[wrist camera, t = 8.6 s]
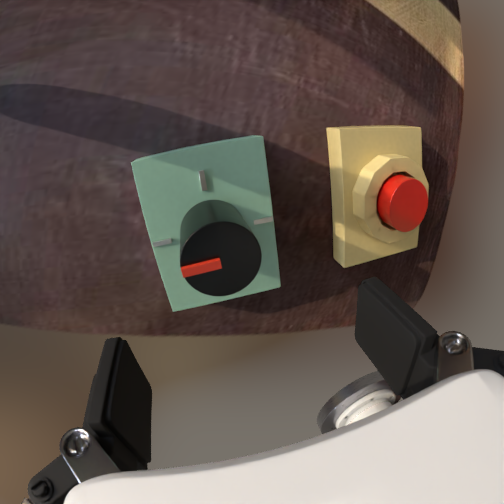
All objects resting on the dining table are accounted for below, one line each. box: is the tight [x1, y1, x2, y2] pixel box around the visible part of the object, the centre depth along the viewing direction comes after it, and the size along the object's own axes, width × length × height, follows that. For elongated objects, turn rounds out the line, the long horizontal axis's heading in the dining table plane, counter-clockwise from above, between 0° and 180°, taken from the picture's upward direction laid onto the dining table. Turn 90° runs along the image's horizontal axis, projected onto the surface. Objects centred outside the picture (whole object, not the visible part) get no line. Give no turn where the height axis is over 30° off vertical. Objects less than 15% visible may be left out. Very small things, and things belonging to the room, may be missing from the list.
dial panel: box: [131, 135, 281, 312], centre depth 22 cm, size 12×9×3 cm
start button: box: [377, 174, 428, 232], centre depth 21 cm, size 4×4×2 cm
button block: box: [326, 126, 429, 268], centre depth 23 cm, size 12×9×4 cm
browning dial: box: [180, 200, 262, 296], centre depth 18 cm, size 5×5×5 cm
